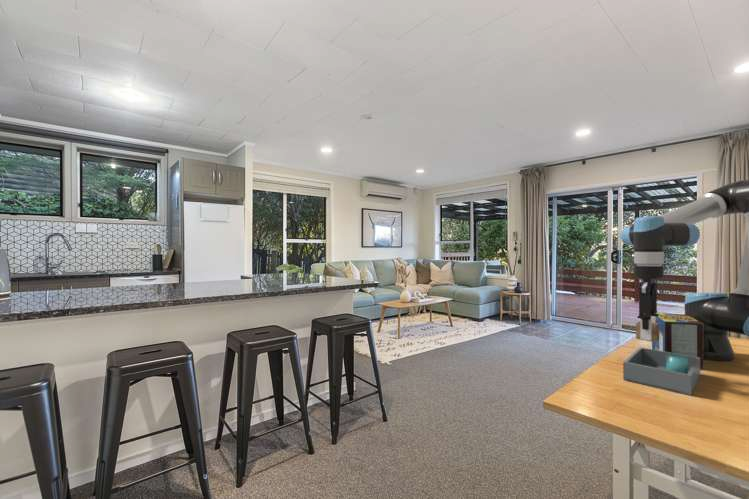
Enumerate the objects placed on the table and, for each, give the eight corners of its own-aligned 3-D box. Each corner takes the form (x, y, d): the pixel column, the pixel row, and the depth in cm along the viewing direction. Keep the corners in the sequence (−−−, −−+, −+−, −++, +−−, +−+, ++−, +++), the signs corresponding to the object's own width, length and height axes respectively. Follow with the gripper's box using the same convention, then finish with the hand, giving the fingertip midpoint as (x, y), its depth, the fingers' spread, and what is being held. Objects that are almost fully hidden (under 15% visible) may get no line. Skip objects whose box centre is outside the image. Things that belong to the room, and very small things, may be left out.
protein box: (686, 355, 130) (686, 314, 130) (703, 369, 116) (704, 323, 116) (651, 352, 135) (651, 312, 134) (664, 365, 121) (664, 320, 120)
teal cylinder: (692, 381, 105) (692, 358, 105) (677, 382, 105) (677, 359, 105) (676, 375, 110) (676, 353, 110) (661, 376, 110) (661, 353, 110)
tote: (639, 363, 123) (639, 347, 123) (700, 375, 112) (700, 357, 112) (623, 380, 109) (623, 362, 109) (690, 395, 97) (690, 375, 97)
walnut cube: (640, 335, 116) (639, 320, 116) (659, 338, 112) (659, 323, 112) (636, 338, 113) (636, 323, 113) (655, 342, 109) (655, 326, 109)
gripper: (640, 263, 121) (640, 330, 121) (626, 266, 109) (626, 340, 109) (668, 264, 115) (668, 334, 116) (657, 267, 103) (657, 346, 104)
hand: (647, 337), depth 113 cm, fingers closed on walnut cube, 5 cm apart
